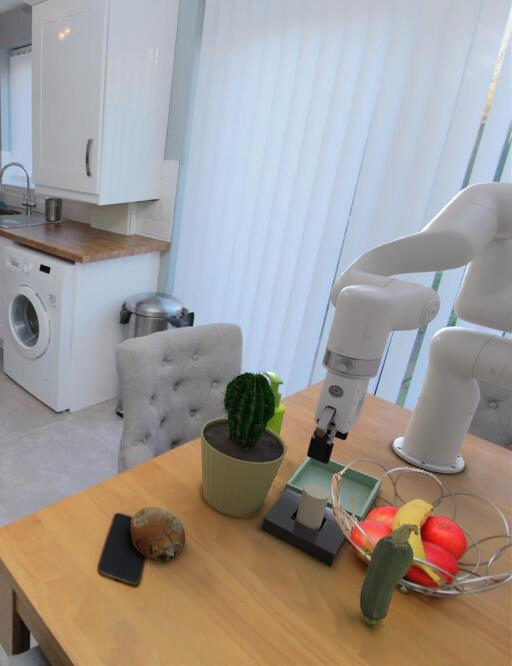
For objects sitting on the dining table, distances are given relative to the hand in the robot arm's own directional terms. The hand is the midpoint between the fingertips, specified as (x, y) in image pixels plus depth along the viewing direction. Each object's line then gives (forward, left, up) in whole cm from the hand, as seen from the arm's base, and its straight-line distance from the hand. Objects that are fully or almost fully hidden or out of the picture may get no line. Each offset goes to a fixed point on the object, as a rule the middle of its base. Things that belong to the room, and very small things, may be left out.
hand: (326, 447), depth 85 cm
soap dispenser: (-19, -16, -19) cm, 31 cm away
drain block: (0, 0, -19) cm, 19 cm away
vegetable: (+12, +13, -19) cm, 26 cm away
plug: (0, 0, -19) cm, 19 cm away
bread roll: (+23, -18, -19) cm, 35 cm away
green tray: (-15, 0, -19) cm, 24 cm away
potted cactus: (+1, -13, -19) cm, 24 cm away
